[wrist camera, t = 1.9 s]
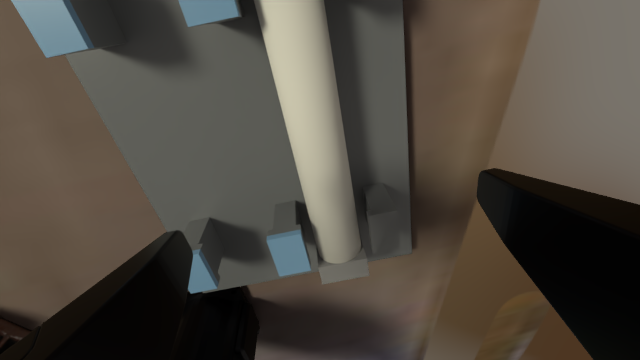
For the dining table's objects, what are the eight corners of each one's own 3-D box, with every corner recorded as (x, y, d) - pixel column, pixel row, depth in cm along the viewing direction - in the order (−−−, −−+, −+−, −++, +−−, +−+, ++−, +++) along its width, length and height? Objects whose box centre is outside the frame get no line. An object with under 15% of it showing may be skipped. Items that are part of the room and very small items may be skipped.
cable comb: (205, 285, 24) (188, 336, 20) (-28, -130, 12) (-183, -200, 8) (408, 246, 24) (430, 290, 20) (387, -228, 11) (434, -352, 8)
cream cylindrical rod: (360, 244, 22) (369, 275, 20) (319, 252, 22) (322, 284, 20) (300, -147, 12) (301, -194, 9) (222, -129, 12) (202, -170, 9)
